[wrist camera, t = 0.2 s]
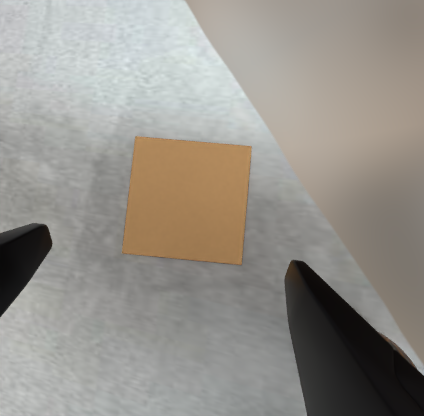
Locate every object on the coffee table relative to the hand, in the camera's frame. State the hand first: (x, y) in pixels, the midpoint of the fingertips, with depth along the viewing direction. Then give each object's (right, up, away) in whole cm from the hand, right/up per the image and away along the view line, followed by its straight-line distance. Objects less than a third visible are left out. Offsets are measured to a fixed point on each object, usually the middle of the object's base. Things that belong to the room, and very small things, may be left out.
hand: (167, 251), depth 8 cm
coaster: (-1, +2, +15) cm, 15 cm away
